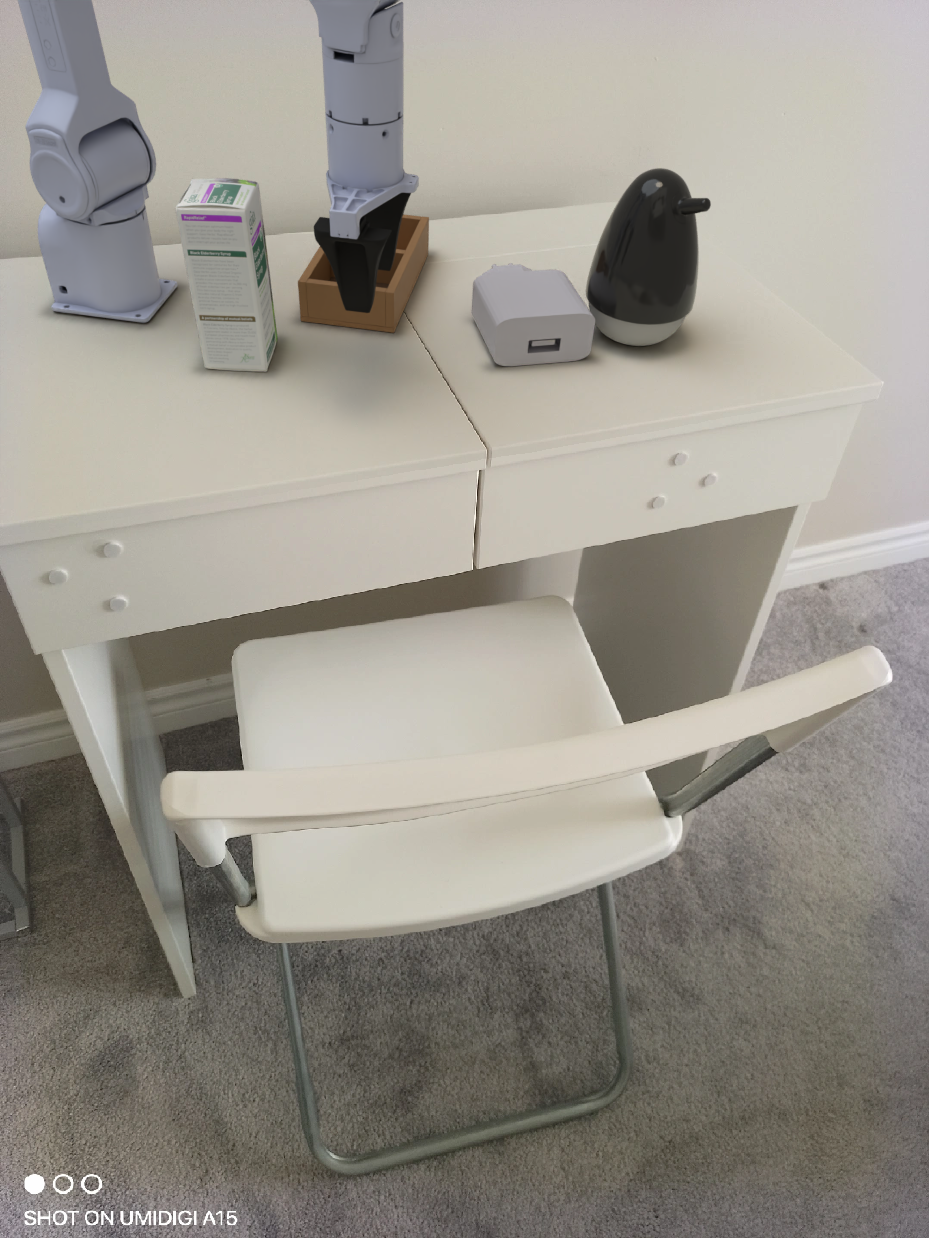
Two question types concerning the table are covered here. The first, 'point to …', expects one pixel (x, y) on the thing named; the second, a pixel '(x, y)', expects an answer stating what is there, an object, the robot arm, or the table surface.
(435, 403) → the table surface
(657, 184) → the pump dispenser
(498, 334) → the charger
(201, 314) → the syrup box
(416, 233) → the divided box
